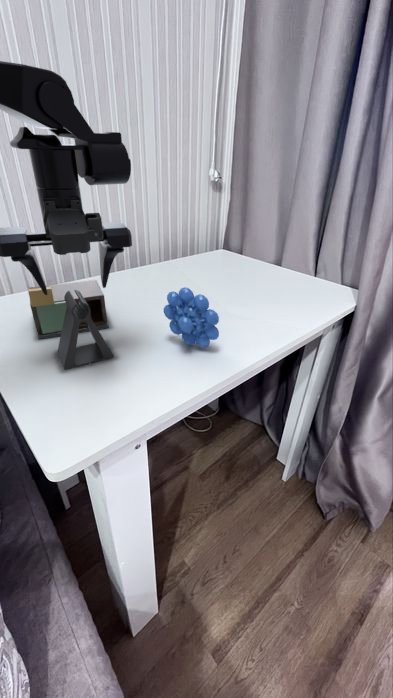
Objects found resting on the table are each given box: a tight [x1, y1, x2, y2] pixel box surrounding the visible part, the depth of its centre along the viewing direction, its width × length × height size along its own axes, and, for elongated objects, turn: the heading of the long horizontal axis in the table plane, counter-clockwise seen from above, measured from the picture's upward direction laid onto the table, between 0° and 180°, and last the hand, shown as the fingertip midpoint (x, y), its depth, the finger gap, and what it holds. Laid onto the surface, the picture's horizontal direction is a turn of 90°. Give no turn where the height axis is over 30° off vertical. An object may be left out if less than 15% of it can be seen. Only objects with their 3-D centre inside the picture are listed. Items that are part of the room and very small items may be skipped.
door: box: [27, 287, 66, 334], centre depth 65 cm, size 7×1×9 cm, turn 114°
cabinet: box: [28, 279, 110, 340], centre depth 71 cm, size 14×10×7 cm
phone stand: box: [57, 290, 115, 371], centre depth 59 cm, size 9×6×12 cm, turn 119°
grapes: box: [162, 286, 220, 348], centre depth 63 cm, size 12×7×12 cm, turn 67°
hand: (76, 290), depth 55 cm, fingers open, 9 cm apart
